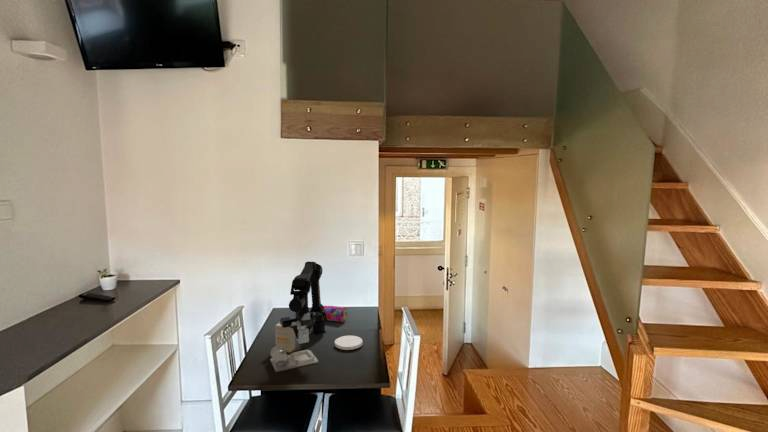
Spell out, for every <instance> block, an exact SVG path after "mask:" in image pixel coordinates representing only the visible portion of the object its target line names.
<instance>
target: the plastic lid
mask: <svg viewBox="0 0 768 432" xmlns="http://www.w3.org/2000/svg"><path fill="white" fill-rule="evenodd" d="M334 346H335V348H337V349H339V350H344V351H350V350H351V351H352V350H355V349H359V348H361V347H362V346H363V339H362V338H361V337H359V336H358V335H343V336H339V337H338V338H336V339H335V340H334Z"/></svg>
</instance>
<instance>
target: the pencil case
mask: <svg viewBox="0 0 768 432" xmlns="http://www.w3.org/2000/svg"><path fill="white" fill-rule="evenodd" d="M323 306H324V311H325V312H326V315H327V321H329V322H336V323H337V322H338V323H343V322H345V320H346V319H347V317H348V310H347V308H346V307H345V306H336V305H323Z"/></svg>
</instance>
